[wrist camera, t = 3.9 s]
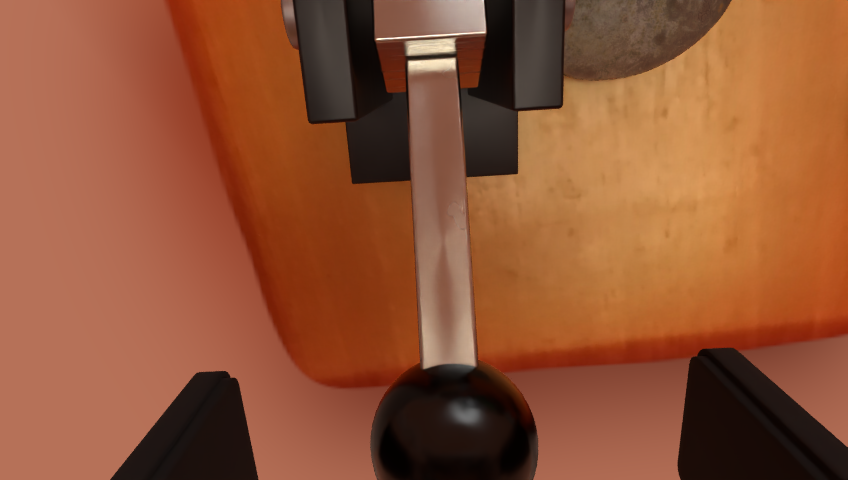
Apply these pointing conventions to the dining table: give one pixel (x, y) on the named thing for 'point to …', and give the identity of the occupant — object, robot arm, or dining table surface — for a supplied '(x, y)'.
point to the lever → (443, 265)
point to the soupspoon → (633, 34)
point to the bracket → (387, 112)
